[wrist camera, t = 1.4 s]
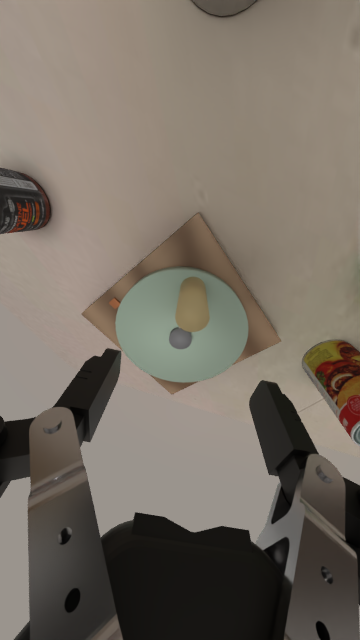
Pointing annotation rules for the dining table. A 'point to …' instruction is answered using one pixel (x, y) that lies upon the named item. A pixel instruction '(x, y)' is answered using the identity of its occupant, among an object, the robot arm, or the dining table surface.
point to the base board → (187, 251)
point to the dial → (182, 324)
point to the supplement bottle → (21, 203)
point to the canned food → (337, 381)
